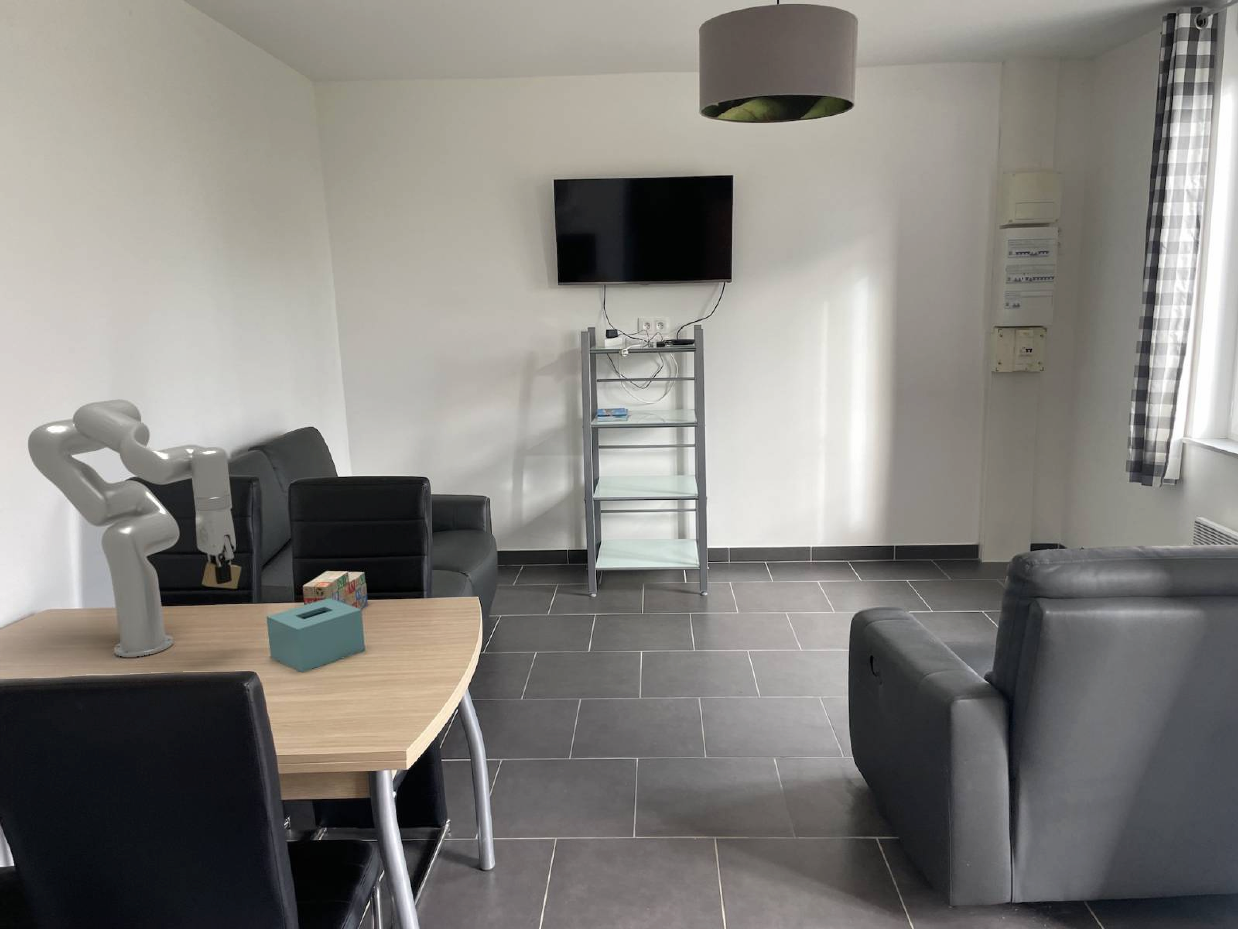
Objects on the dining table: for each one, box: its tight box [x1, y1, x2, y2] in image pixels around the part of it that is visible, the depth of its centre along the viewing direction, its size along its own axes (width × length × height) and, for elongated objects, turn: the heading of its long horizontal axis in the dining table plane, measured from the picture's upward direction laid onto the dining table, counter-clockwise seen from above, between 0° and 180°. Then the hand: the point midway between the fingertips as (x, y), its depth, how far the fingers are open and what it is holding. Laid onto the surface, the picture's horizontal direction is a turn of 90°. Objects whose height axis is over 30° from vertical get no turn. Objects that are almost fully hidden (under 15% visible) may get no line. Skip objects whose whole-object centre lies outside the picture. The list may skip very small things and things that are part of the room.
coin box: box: [266, 598, 366, 673], centre depth 206 cm, size 14×16×10 cm
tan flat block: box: [201, 562, 243, 590], centre depth 202 cm, size 2×5×7 cm
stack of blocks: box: [302, 570, 368, 610], centre depth 230 cm, size 21×6×12 cm, turn 170°
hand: (221, 580), depth 203 cm, fingers closed on tan flat block, 2 cm apart
